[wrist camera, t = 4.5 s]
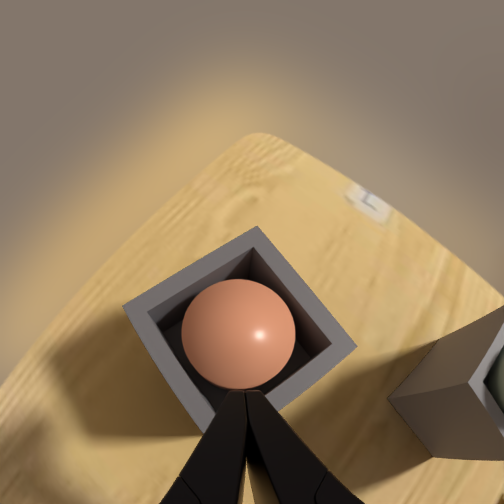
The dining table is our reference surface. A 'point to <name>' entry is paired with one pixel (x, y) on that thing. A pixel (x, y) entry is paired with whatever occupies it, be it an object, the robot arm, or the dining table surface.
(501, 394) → the sage button
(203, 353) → the terracotta button
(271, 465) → the robot arm
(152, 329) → the grey square housing
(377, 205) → the dining table surface
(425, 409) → the grey square socket
